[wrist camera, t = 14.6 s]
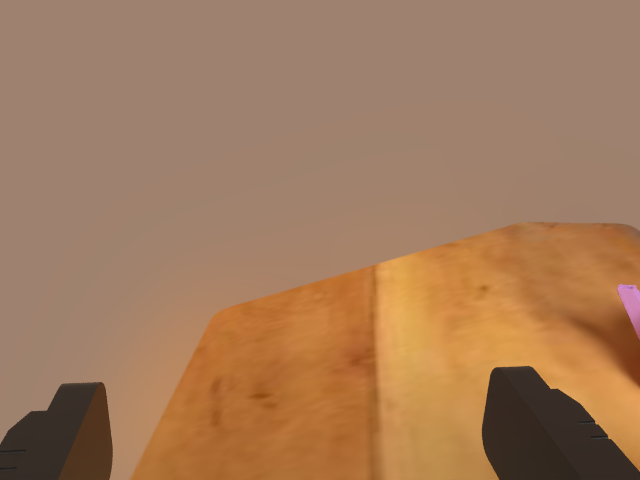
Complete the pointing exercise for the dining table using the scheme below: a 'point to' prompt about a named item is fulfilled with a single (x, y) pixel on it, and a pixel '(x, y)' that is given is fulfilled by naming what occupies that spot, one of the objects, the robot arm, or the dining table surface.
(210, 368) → the dining table surface
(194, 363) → the dining table surface
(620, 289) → the teakettle
